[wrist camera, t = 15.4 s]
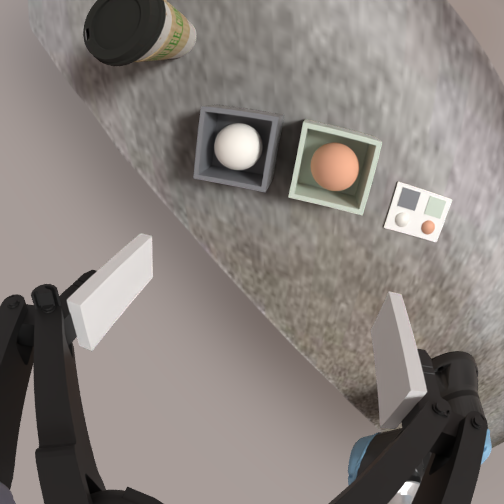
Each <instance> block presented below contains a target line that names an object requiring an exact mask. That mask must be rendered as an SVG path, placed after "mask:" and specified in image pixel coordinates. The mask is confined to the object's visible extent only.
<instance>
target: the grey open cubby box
mask: <svg viewBox="0 0 504 504" xmlns="http://www.w3.org/2000/svg"><path fill="white" fill-rule="evenodd" d="M283 118H284V115H282V114H277V113H271V112H265V111H259V110H253V109H246V108H239V107H232V106H224V105H207V106H201V111H200V119H199V128H198V137H197V146H196V156H195V166H194V177H193V179H199V180H204V181H210V182H215V183H221V184H226V185H231V186H236V187H241V188H246V189H251V190H256V191H261V192H266V191H267V189H268V187H269V185H270V184H271V182H272V180H273V175H274V169H275V163H276V158H277V152H278V147H279V141H280V135H281V130H282V124H283ZM235 123H243V124H247V125H249V126H251V127H252V128H254V129H255V130H256V131H257V132H258V133H259V135H260V137H261V140H262V144H263V149H262V154H261V156H260V158H259V160H258V161H257V162H256V163H255V164H254V165H253V166H251V167H250V168H247V169H244V170H232V169H229V168H227V167H225V166H224V165H223V164H221V163H220V161H219V160H218V159H217V157H216V154H215V150H214V144H215V139H216V137H217V135H218V134H219V132H220V131H221V130H222V129H223V128H225V127H226V126H228V125H231V124H235Z"/></svg>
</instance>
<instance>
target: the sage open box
mask: <svg viewBox="0 0 504 504" xmlns="http://www.w3.org/2000/svg"><path fill="white" fill-rule="evenodd" d="M333 142H334V143H341V144H344V145H346V146H347V147H349V148H350V149H351V150H352V151H353V152H354V153H355V155H356V156H357V159H358V162H359V174H358V177H357V179H356V180H355V182H354V183H353V184H352V185H351V186H350V187H348V188H347V189H344V190H341V191H330V190H327V189H325V188H323V187H321V186H320V185H319V184H318V183H317V182H316V181H315V179H314V178H313V175H312V172H311V160H312V157H313V154H314V153H315V151H316V150H317V149H318V148H319V147H321V146H322V145H324V144H327V143H333ZM381 146H382V141H380V140H379V139H377V138H376V137H374V136H372V135H368V134H365V133H361V132H357V131H354V130H350V129H346V128H342V127H338V126H334V125H330V124H325V123H321V122H317V121H312V120H307V119H305V120H304V122H303V126H302V131H301V137H300V142H299V147H298V152H297V157H296V162H295V167H294V172H293V177H292V182H291V187H290V192H289V197H288V198H293V199H297V200H302V201H306V202H310V203H315V204H319V205H323V206H327V207H331V208H335V209H339V210H343V211H347V212H351V213H355V214H359V215H363V212H364V209H365V205H366V202H367V199H368V195H369V191H370V188H371V184H372V181H373V177H374V173H375V169H376V166H377V162H378V158H379V154H380V150H381Z"/></svg>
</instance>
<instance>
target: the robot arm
mask: <svg viewBox="0 0 504 504" xmlns="http://www.w3.org/2000/svg"><path fill="white" fill-rule="evenodd" d="M152 278H153V266H152V236H149V235H145V234H139V235H138V236H137V237H135V238H134V239H133V240H132V241H131V242H130V243H129V244H127V245H126V246H125V247H124V248H123V249H121V250H120V251H119V252H118V253H117V254H116V255H115V256H113V257H112V259H110V260H109V261H108V262H107V263H106V264H105V265H103V266H102V267H101V268H100V269H99V270H98V271H95V270H91V271H89V272H87V273H84V274H83V275H82V276H81V277H80V278H79V279H78V280H77V281H75V282H74V283H73V285H71V286H70V287H69V288H68V289H66V290H65V291H64V292H63V293H62V294H61V295H60V296H59V294H58V290H57V288H56V287H55V286H54V285H51V284H44V285H40V286H38V287H37V288H35V289H34V290H33V291H32V294H31V297H32V300H33V303H34V305H28V304H26V303H25V300H24V297H22V296H21V295H12V296H9V297H7V298H6V299H5V300H4V301H3V302H2V304H1V306H0V504H16V503H15V501H14V500H13V495H12V493H11V491H10V488H11V483H12V479H13V472H14V466H15V456H16V448H17V441H18V434H19V427H20V421H21V416H22V410H23V405H24V400H25V395H26V391H27V387H28V382H29V378H30V374H31V370H32V366H33V362H34V394H35V409H36V419H37V420H36V421H37V430H38V438H39V448H37V449H36V452H35V457H36V464H37V470H38V475H39V481H40V486H41V490H42V495H43V499H44V503H45V504H163V503H162V502H160V501H159V500H157V499H155V498H153V497H151V496H148V495H146V494H144V493H141V492H139V491H136V490H134V489H132V488H129V487H127V488H126V490H125V491H123V490H106V489H105V486H104V483H103V481H102V479H101V477H100V475H99V473H98V470H97V467H96V463H95V459H94V456H93V452H92V448H91V445H90V440H89V436H88V431H87V427H86V422H85V418H84V413H83V408H82V402H81V397H80V391H79V385H78V378H77V370H76V364H75V354H74V346H73V343H72V342H73V340H74V339H75V338H76V337H77V340H78V343H79V345H80V346H81V347H83V348H86V349H88V350H90V351H93V349H94V348H95V347H96V346H97V344H98V343H99V342H100V340H101V339H102V338H103V337H104V335H105V334H106V333H107V332H108V330H109V329H110V328H111V327H112V325H113V324H114V323H115V322H116V321H117V319H118V318H119V317H120V316H121V314H122V313H123V312H124V311H125V310H126V308H127V307H128V306H129V305H130V303H131V302H132V301H133V300H134V299H135V298H136V296H137V295H138V294H139V293H140V292H141V290H142V289H143V288H144V287H145V286H146V284H147V283H148V282H149V281H150V280H151V279H152ZM371 334H372V342H373V350H374V359H375V368H376V378H377V390H378V402H379V417H380V428H390V429H395V430H391V431H387V432H383V433H381V432H378V433H376V434H374V435H371V436H367V437H363V438H361V439H359V440H358V441H357V442H356V443H355V445H354V446H353V449H352V451H351V455H350V459H349V466H348V473H349V477H348V484H349V486H348V487H347V488H346V489H345V490H344V491H342V492H341V493H340V494H339V495H338V496H337V497H336V498H335V499H333V500H332V501H331V502H330V503H329V504H471V500H472V497H473V493H474V490H475V486H476V482H477V478H478V474H479V470H480V465H481V464H482V463H483V462H484V461H485V460H486V459H487V458H488V456H489V454H490V452H491V440H490V431H489V429H488V425H487V421H486V418H485V415H484V412H483V409H482V405H481V402H480V399H479V396H478V378H477V377H478V367H477V364H476V362H475V359H474V358H473V356H471V355H470V354H468V353H465V352H451V353H447V354H444V355H441V356H439V357H436V358H434V359H433V360H431V358H430V356H429V355H428V353H427V352H426V351H425V350H421V349H417V346H416V343H415V339H414V335H413V332H412V328H411V325H410V321H409V318H408V314H407V311H406V308H405V304H404V301H403V298H402V295H401V294H398V293H394V292H388V294H387V296H386V299H385V301H384V303H383V305H382V308H381V310H380V312H379V314H378V316H377V318H376V320H375V322H374V324H373V327H372V329H371ZM401 422H402V428H399V429H396V428H397V426H398V425H399V424H400V423H401ZM423 468H424V469H423Z"/></svg>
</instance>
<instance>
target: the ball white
mask: <svg viewBox="0 0 504 504" xmlns="http://www.w3.org/2000/svg"><path fill="white" fill-rule="evenodd" d="M262 149H263V144H262V140H261V137H260V135H259V133H258V132H257V131H256V130H255V129H254V128H252V127H251V126H249V125H247V124H243V123H235V124H231V125H228V126H226V127H225V128H223V129H222V130H221V131H220V132H219V134H218V135H217V137H216V139H215V144H214V150H215V154H216V157H217V159H218V160H219V161H220V163H221V164H223V165H224V166H225V167H227V168H229V169H232V170H244V169H247V168H250V167H251V166H253V165H254V164H255V163H256V162H257V161H258V160H259V158H260V156H261V154H262Z"/></svg>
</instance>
